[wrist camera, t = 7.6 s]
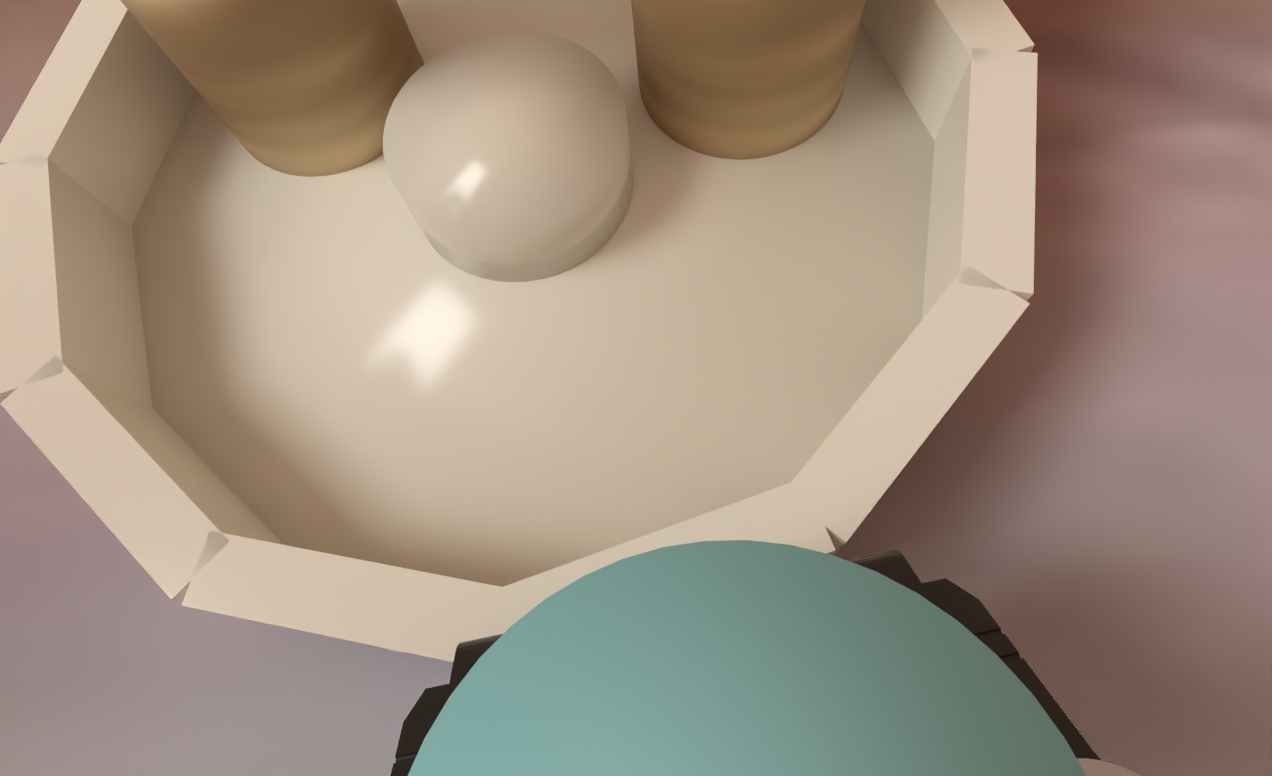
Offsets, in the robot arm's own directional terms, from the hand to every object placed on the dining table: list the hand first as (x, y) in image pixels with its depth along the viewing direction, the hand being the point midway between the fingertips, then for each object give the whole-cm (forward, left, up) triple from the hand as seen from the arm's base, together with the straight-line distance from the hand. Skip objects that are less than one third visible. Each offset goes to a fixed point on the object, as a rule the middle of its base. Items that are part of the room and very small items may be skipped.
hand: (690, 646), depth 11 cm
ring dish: (+9, +5, -4) cm, 11 cm away
